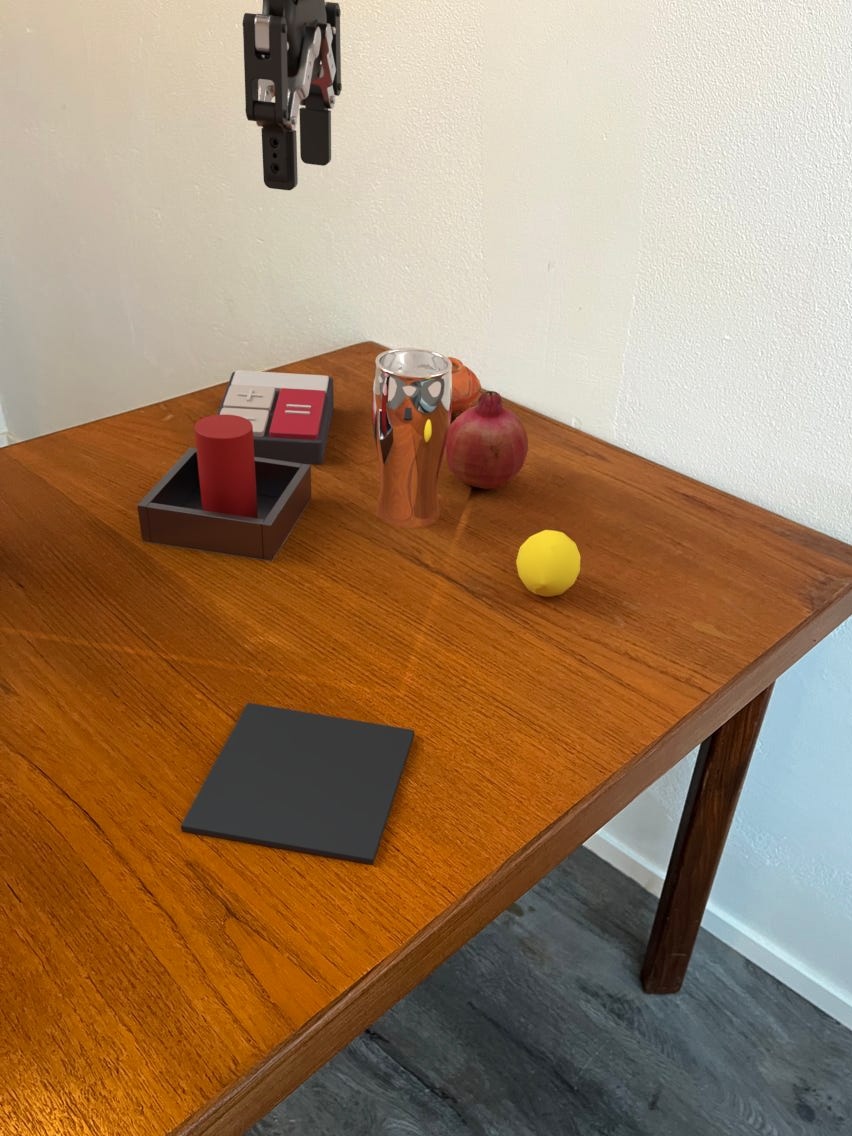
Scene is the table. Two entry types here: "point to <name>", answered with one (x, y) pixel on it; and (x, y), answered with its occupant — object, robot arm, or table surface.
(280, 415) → the calculator
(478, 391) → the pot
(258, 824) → the mat
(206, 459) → the canister
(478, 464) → the fruit
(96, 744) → the table surface
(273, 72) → the robot arm
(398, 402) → the beer glass
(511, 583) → the table surface
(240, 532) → the bin
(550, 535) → the lemon
